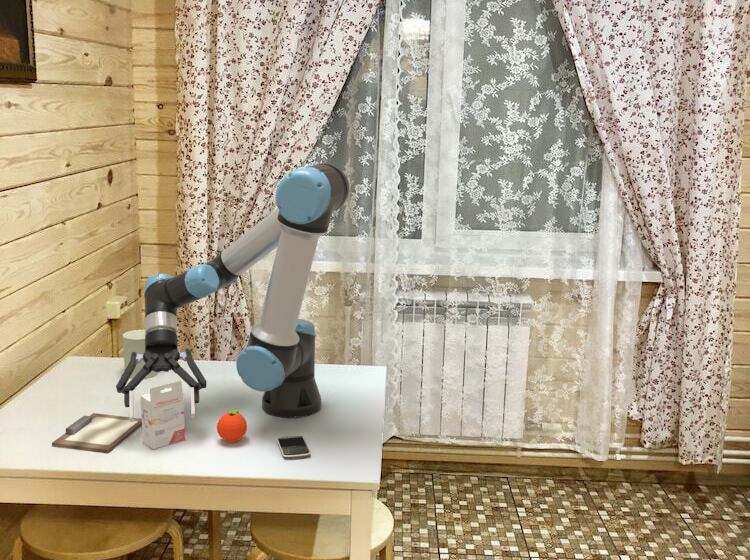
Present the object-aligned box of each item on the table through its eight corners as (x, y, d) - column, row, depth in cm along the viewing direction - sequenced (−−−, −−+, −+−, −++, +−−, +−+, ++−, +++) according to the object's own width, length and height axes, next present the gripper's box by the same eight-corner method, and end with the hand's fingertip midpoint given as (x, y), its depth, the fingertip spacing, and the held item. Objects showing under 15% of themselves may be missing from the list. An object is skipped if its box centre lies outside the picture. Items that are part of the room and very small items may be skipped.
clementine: (224, 431, 206) (224, 403, 205) (252, 434, 205) (252, 406, 203) (212, 445, 199) (212, 416, 197) (241, 448, 197) (241, 419, 196)
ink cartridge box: (174, 433, 205) (172, 374, 201) (185, 440, 201) (183, 380, 198) (141, 442, 199) (139, 382, 195) (152, 450, 195) (149, 388, 192)
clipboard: (145, 422, 210) (145, 413, 210) (108, 453, 193) (108, 443, 193) (93, 416, 213) (92, 407, 213) (52, 446, 196) (51, 437, 196)
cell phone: (283, 462, 192) (283, 456, 192) (276, 442, 202) (275, 436, 202) (311, 459, 194) (311, 454, 193) (302, 439, 204) (302, 434, 204)
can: (149, 380, 238) (147, 338, 235) (118, 377, 240) (116, 336, 237) (163, 369, 247) (162, 329, 244) (133, 366, 249) (131, 326, 246)
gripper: (213, 339, 213) (217, 420, 202) (108, 344, 207) (106, 427, 197) (214, 325, 207) (218, 407, 196) (105, 329, 201) (103, 414, 190)
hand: (162, 418), depth 196 cm, fingers open, 13 cm apart
